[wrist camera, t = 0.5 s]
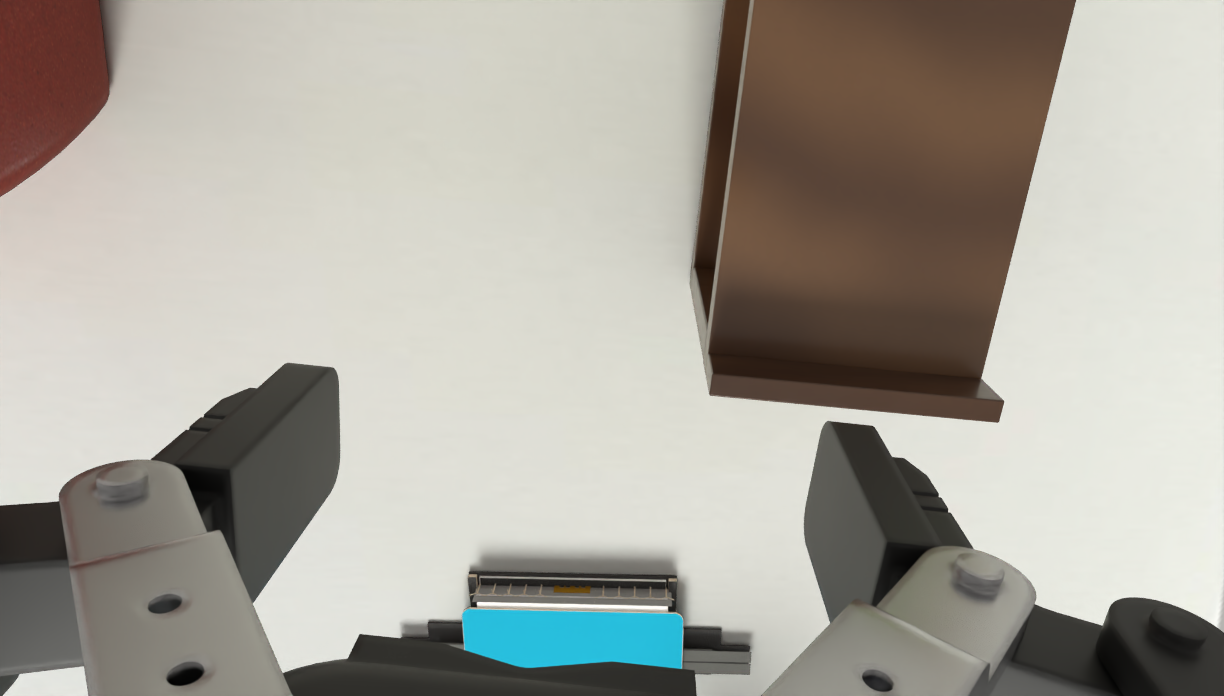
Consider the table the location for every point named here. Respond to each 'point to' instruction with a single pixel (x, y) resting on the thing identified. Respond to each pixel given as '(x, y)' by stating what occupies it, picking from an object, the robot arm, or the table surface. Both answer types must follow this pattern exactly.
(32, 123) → the flower pot
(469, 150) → the table surface
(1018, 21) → the box
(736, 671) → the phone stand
